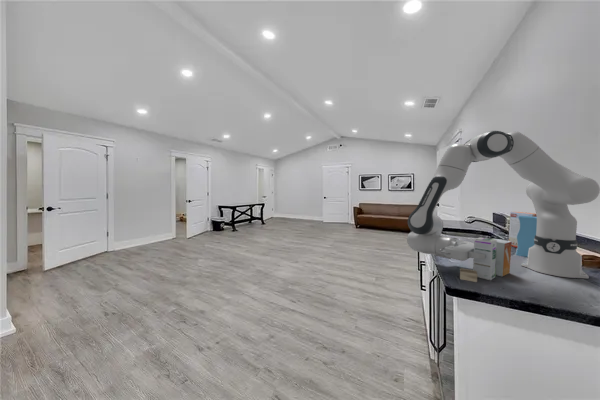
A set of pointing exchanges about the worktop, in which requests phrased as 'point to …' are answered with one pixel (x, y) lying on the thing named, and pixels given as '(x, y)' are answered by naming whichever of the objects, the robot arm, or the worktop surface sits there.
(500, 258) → the small box
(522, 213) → the cracker box
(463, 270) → the maple block
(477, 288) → the worktop surface
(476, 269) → the syrup box
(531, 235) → the vase
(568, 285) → the worktop surface
